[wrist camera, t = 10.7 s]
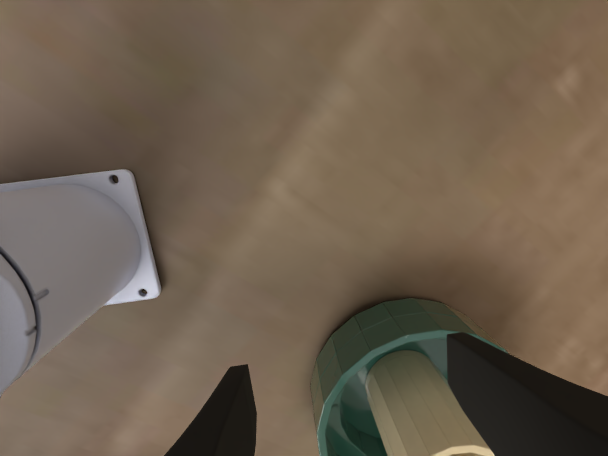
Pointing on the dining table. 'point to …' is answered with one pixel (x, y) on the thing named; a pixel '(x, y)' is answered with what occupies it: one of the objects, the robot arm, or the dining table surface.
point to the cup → (419, 409)
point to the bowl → (360, 359)
